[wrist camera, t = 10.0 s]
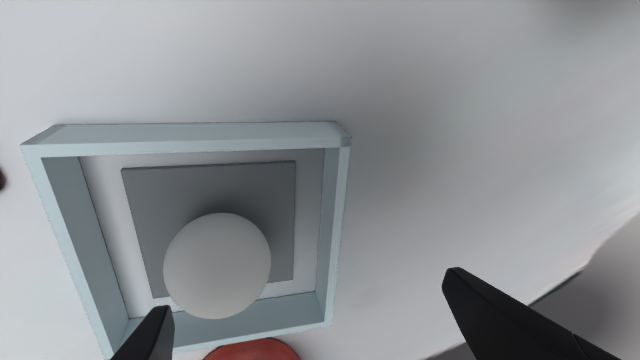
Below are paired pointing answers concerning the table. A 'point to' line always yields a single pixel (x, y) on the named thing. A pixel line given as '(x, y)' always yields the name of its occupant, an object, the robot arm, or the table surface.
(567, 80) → the table surface
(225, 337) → the light blue tray
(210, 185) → the pad
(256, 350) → the stacking bear
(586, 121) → the table surface
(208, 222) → the ball
